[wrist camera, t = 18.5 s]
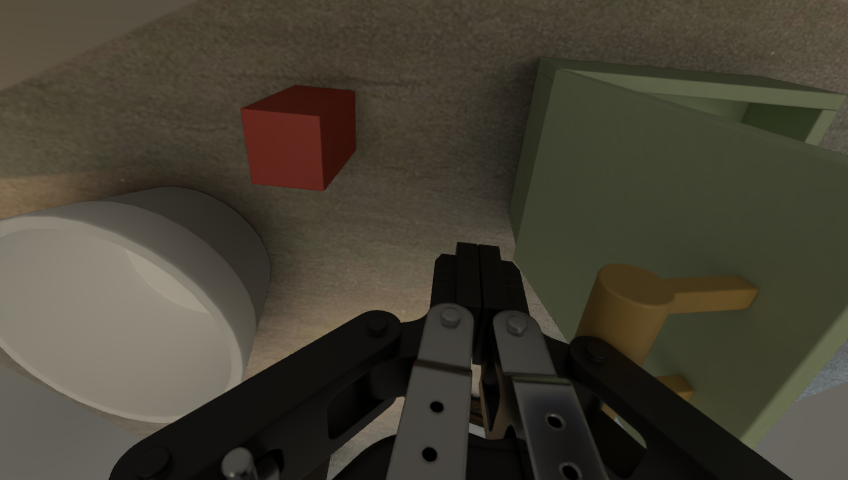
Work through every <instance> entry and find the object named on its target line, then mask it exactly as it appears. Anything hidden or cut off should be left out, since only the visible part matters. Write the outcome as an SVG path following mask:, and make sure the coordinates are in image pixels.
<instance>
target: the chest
mask: <svg viewBox="0 0 848 480" xmlns="http://www.w3.org/2000/svg"><path fill="white" fill-rule="evenodd" d="M556 70H569V71H572V72H575V73H579V74H582V75H585V76H589V77H592V78H595V79H598V80H602V81H605V82H608V83H612V84H615V85H618V86H621V87H625V88H628V89H631V90H634V91H638V92H641V93H644V94H648V95H651V96H654V97H657V98H661V99H664V100H667V101H671V102H674V103H677V104H680V105H684V106H687V107H690V108H693V109H697V110H700V111H703V112H707V113H710V114H713V115H716V116H720V117H723V118H726V119H730V120H733V121H736V122H739V123H743V124H746V125H749V126H752V127H756V128H759V129H762V130H766V131H769V132H772V133H775V134H779V135H782V136H785V137H789V138H792V139H795V140H798V141H802V142H805V143H808V144H811V145H815V146H818V144H819V143H820V141H821V139H822V138H823V136H824V134H825V133H826V131H827V129H828V128H829V126H830V124H831V123H832V121H833V119H834V118H835V116H836V114H837V113H838V111H837V110H839V109H840V107H841V106H842V104H843V102H844V101H845V99H846V97H847V95H846V94H842V93H837V92H833V91H828V90H823V89H819V88H814V87H809V86H804V85H800V84H795V83H790V82H786V81H781V80H776V79H772V78H767V77H757V76H746V75H735V74H724V73H713V72H701V71H690V70H679V69H668V68H657V67H645V66H634V65H623V64H612V63H601V62H589V61H578V60H567V59H556V58H545V57H541V58H540V61H539V66H538V71H537V76H536V81H535V86H534V90H533V95H532V100H531V105H530V110H529V115H528V120H527V125H526V129H525V134H524V139H523V144H522V149H521V154H520V159H519V164H518V168H517V173H516V178H515V183H514V188H513V193H512V198H511V203H510V208H509V212H508V213H509V218H510V222H511V227H512V231H513V235H514V240H515V244H517V239H518V235H519V231H520V226H521V222H522V217H523V213H524V208H525V204H526V200H527V195H528V191H529V186H530V182H531V178H532V173H533V169H534V164H535V160H536V156H537V151H538V147H539V142H540V138H541V134H542V129H543V125H544V120H545V116H546V112H547V107H548V103H549V98H550V94H551V90H552V85H553V81H554V76H555V72H556Z"/></svg>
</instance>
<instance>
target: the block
mask: <svg viewBox="0 0 848 480" xmlns="http://www.w3.org/2000/svg"><path fill="white" fill-rule="evenodd" d="M240 110H241V116H242V122H243V128H244V135H245V141H246V147H247V154H248V160H249V166H250V172H251V179H252V184H261V185H270V186H280V187H289V188H299V189H308V190H318V191H324V190H325V189H326V188H327V186H328V185H329V184H330V183H331V181H332V180H333V179H334V178H335V176H336V175H337V174H338V172H339V171H340V170H341V169H342V167H343V166H344V165H345V163H346V162H347V161H348V160H349V158H350V157H351V156H352V154H353V153H354V152H355V151H356V140H355V91H351V90H340V89H330V88H319V87H309V86H298V85H294V86H292V87H290V88H287V89H285V90H283V91H280V92H278V93H276V94H273V95H271V96H269V97H267V98H264V99H262V100H260V101H257V102H255V103H253V104H250V105H248V106H246V107H243V108H241V109H240Z"/></svg>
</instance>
